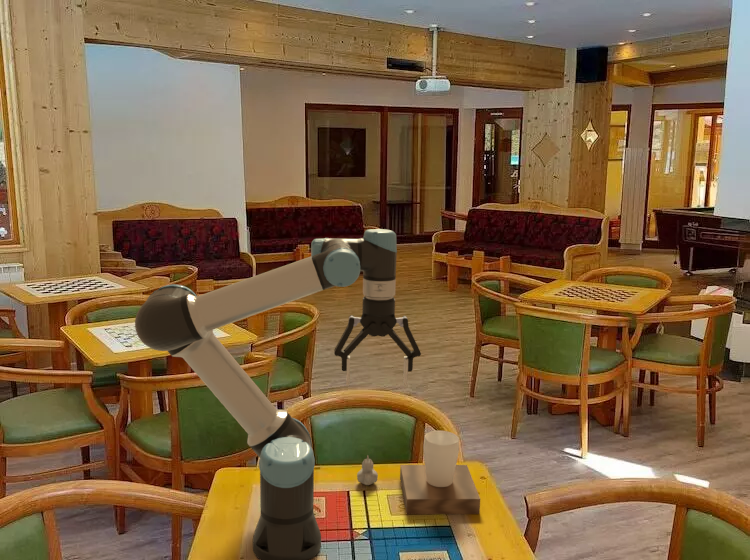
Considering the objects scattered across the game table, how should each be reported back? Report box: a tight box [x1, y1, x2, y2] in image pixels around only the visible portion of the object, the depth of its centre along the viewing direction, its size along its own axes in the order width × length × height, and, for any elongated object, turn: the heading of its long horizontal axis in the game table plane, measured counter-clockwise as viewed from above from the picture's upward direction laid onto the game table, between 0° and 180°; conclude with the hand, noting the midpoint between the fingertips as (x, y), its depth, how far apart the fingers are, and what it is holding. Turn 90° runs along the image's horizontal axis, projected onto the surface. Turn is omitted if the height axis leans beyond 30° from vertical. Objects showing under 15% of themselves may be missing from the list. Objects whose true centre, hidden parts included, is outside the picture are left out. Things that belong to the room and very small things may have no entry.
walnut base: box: [399, 464, 481, 515], centre depth 175 cm, size 18×18×4 cm
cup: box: [423, 430, 460, 487], centre depth 173 cm, size 9×9×12 cm
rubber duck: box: [356, 455, 379, 486], centre depth 179 cm, size 5×7×8 cm
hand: (376, 384), depth 161 cm, fingers open, 13 cm apart
